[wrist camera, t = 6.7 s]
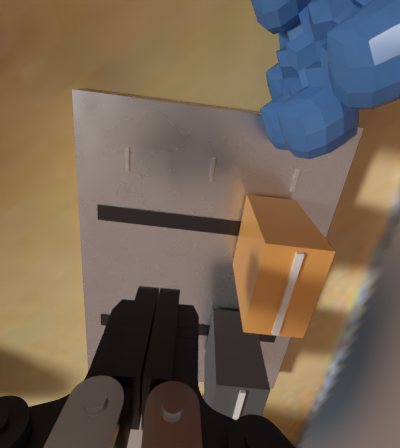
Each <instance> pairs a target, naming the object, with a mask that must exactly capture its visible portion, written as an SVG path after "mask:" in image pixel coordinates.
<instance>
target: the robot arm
mask: <svg viewBox="0 0 400 448" xmlns="http://www.w3.org/2000/svg"><path fill="white" fill-rule="evenodd" d="M179 297H180V289H168V288H160V293H159V288H156V287H145V286H139V287H138V290H137V293H136V297H135V300H126V299H122V300H121V301H120V302H119V303H118V304H117V305H116V306H115V307H114V308H113V309H112V311H111V314H110V317H109V319H108V323H107V324H106V327H105V330H104V333H103V335H102V337H101V340H100V343H99V345H98V348H97V350H96V353H95V356H94V358H93V361H92V363H91V366H90V369H89V371H88V374H87V376H86V378H85V379H84V381H82V382H81V383H80V384H78V385H77V386H76V387H75V388H74V389H73V391H72V392H71V393H70V394H69V395H67V396H65V397H63V398H61V399H59V400H55V401H52V402H48V403H43V404H39V405H35V406H31V407H28V405H27V403H26V402H25V401H24V400H23V399H21V398H20V397H17V396H2V397H0V448H127V445H128V440H129V435H130V430H131V429H133V430H139V426H140V421H141V415H142V421H141V430H143V434H142V444H141V448H295V447H294V446H293V445H292V444H291V443H290V441H289V440H288V439H287V438H286V437H285V436H284V435H283V434H282V432H281V431H280V430H279V429H278V428H277V427H276V426H275V425H274V424H273V423H272V422H271V421H269V420H268V419H266V418H264V417H262V416H259V415H254V414H249V415H244V416H242V417H240V418H238V419H237V420H235V419H233V418H230V417H228V416H226V415H223V414H221V413H219V412H217V411H215V410H214V409H212V408H211V407H210V406H209V405H208V404H207V403H206V402H205V401H204V399H203V398H202V396H201V394H200V391H199V387H198V344H199V342H198V340H199V316H198V314H197V312H196V310H195V308H194V306H193V305H184V304H179Z"/></svg>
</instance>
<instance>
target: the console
mask: <svg viewBox="0 0 400 448" xmlns="http://www.w3.org/2000/svg"><path fill="white" fill-rule="evenodd" d="M72 99H73V116H74V133H75V150H76V167H77V184H78V202H79V219H80V236H81V253H82V270H83V288H84V305H85V322H86V339H87V356H88V371H89V369H90V366H91V363H92V361H93V358H94V356H95V353H96V350H97V348H98V345H99V343H100V340H101V337H102V335H103V333H104V330H105V327H106V324H107V323H108V319H109V317H110V314H111V311H112V309H113V308H114V307H115V306H116V305H117V304H118V303H119V302H120V301H121V300H122V299H126V300H135V297H136V293H137V290H138V287H139V286H145V287H156V288H159V293H160V288H168V289H180V297H179V304H184V305H193V306H194V308H195V310H196V312H197V314H198V316H199V340H198V342H199V344H198V382H204V356H205V351H206V346H207V340H208V335H209V329H210V324H211V318H212V313H213V309H218V310H228V311H237V312H240V308H239V302H238V295H237V289H236V283H235V276H234V270H233V260H234V255H235V250H236V245H237V240H238V235H239V230H240V225H241V221H242V216H243V211H244V206H245V201H246V196H247V194H248V195H256V196H265V197H273V198H281V199H289V200H296V201H297V202H298V204H299V205H300V206H301V208H302V209H303V210H304V211H305V213H306V214H307V215H308V217H309V218H310V219H311V220H312V222H313V223H314V224H315V225H316V227H317V228H318V229H319V231H320V232H321V233H322V234H323V236H324V237H325V238H326V235H327V233H328V230H329V227H330V224H331V221H332V218H333V215H334V213H335V210H336V207H337V204H338V201H339V198H340V195H341V192H342V190H343V187H344V184H345V181H346V178H347V175H348V172H349V170H350V167H351V164H352V161H353V158H354V155H355V152H356V149H357V147H358V144H359V141H360V138H361V135H362V132H363V129H364V128H362V127H358V130H357V135H356V136H354V137H353V138H352V139H351V140H349V141H348V142H347V143H345V144H344V145H342V146H341V147H339V148H337V149H336V150H334V151H333V152H331V153H328V154H325V155H322V156H319V157H316V158H313V159H304V158H299V157H295V156H294V155H293V154H292V153H291V152H290V151H289V150H280V149H276V148H275V147H274V145H273V144H272V143H271V142H270V141H269V138H268V136H267V133H266V130H265V127H264V124H263V120H262V115H261V112H257V111H250V110H242V109H235V108H228V107H220V106H213V105H205V104H198V103H190V102H183V101H175V100H168V99H160V98H153V97H145V96H138V95H130V94H123V93H116V92H108V91H101V90H93V89H86V88H85V89H72ZM258 335H259V340H260V344H261V349H262V354H263V358H264V363H265V368H266V372H267V377H268V382H269V386H270V388H271V389H273V387H274V384H275V382H276V379H277V376H278V373H279V370H280V367H281V364H282V362H283V359H284V356H285V353H286V350H287V347H288V344H289V341H290V339H291V337H285V336H275V335H265V334H258Z"/></svg>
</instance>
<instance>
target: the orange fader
mask: <svg viewBox="0 0 400 448" xmlns="http://www.w3.org/2000/svg"><path fill="white" fill-rule="evenodd" d="M335 253H336V251H335V250H334V249H333V247H332V246H331V245H330V243H329V242H328V241H327V240H326V238H325V237H324V236H323V234H322V233H321V232H320V231H319V229H318V228H317V227H316V225H315V224H314V223H313V222H312V220H311V219H310V218H309V217H308V215H307V214H306V213H305V211H304V210H303V209H302V208H301V206H300V205H299V204H298V202H297V201H296V200H289V199H281V198H273V197H265V196H256V195H248V194H247V196H246V201H245V206H244V211H243V216H242V221H241V225H240V230H239V235H238V240H237V245H236V250H235V255H234V260H233V270H234V276H235V283H236V289H237V295H238V302H239V308H240V315H241V321H242V327H243V332H246V333H255V334H265V335H275V336H285V337H294V338H304V335H305V333H306V330H307V327H308V325H309V322H310V319H311V317H312V314H313V311H314V309H315V306H316V303H317V301H318V298H319V295H320V293H321V290H322V287H323V285H324V282H325V279H326V277H327V274H328V271H329V269H330V266H331V263H332V261H333V258H334V255H335Z"/></svg>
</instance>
